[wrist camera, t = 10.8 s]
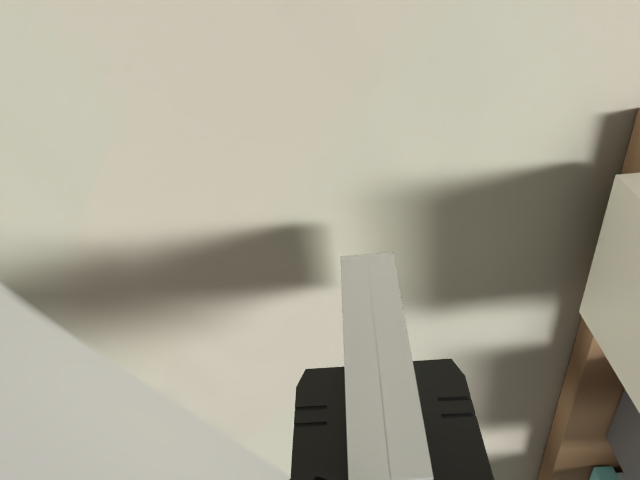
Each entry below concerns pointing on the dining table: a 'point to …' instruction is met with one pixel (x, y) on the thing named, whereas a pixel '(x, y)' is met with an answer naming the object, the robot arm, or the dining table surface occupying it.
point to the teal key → (606, 474)
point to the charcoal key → (626, 437)
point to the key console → (587, 394)
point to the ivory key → (618, 285)
